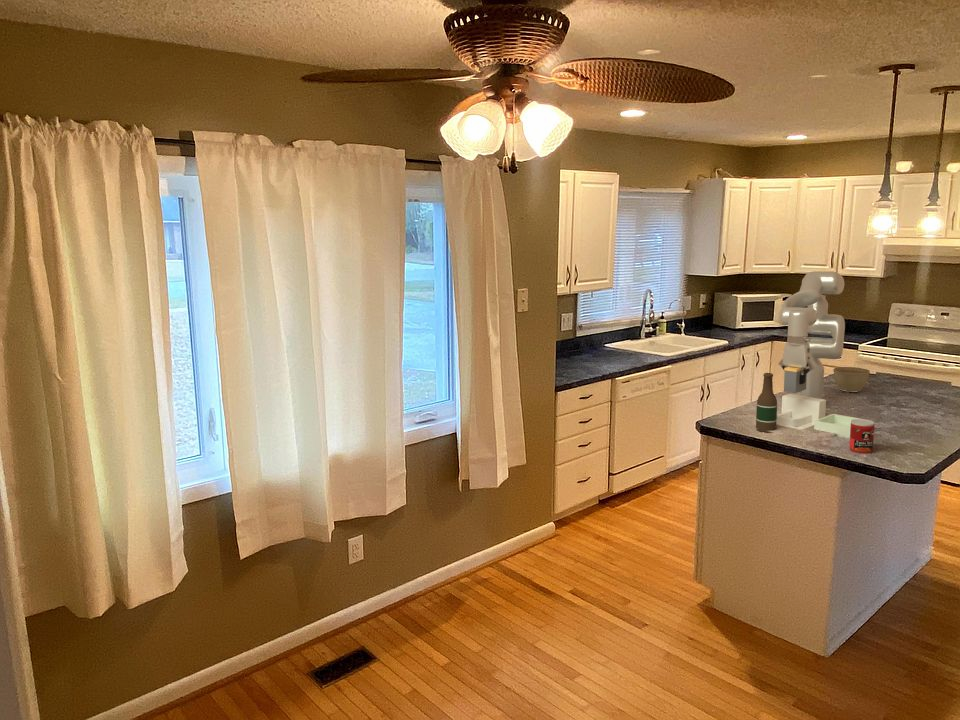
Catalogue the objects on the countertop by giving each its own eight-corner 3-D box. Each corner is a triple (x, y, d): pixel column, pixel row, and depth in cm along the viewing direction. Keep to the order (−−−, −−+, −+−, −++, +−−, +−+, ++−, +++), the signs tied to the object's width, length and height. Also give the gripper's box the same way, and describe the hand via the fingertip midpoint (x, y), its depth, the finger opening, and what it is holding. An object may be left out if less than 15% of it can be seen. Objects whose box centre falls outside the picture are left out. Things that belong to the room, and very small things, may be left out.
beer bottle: (780, 431, 280) (783, 373, 276) (767, 434, 276) (770, 376, 272) (764, 426, 287) (766, 370, 283) (751, 430, 283) (753, 373, 279)
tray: (832, 424, 288) (832, 413, 287) (867, 430, 277) (868, 419, 277) (813, 431, 278) (814, 420, 277) (849, 438, 267) (850, 427, 267)
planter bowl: (825, 390, 348) (826, 369, 346) (845, 386, 355) (846, 365, 354) (855, 396, 334) (856, 374, 332) (875, 391, 341) (877, 370, 340)
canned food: (853, 453, 250) (855, 424, 248) (845, 446, 258) (847, 418, 256) (876, 454, 249) (878, 424, 247) (867, 447, 256) (869, 418, 255)
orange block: (794, 387, 292) (795, 364, 290) (806, 389, 288) (807, 366, 286) (783, 391, 286) (784, 367, 285) (795, 393, 282) (796, 369, 281)
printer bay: (788, 415, 303) (789, 393, 301) (824, 422, 290) (826, 399, 289) (764, 424, 290) (765, 401, 289) (801, 432, 278) (803, 408, 276)
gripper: (822, 340, 279) (820, 384, 282) (782, 336, 292) (780, 378, 295) (813, 343, 274) (811, 387, 278) (772, 339, 287) (771, 381, 291)
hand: (795, 382), depth 287 cm, fingers closed on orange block, 5 cm apart
